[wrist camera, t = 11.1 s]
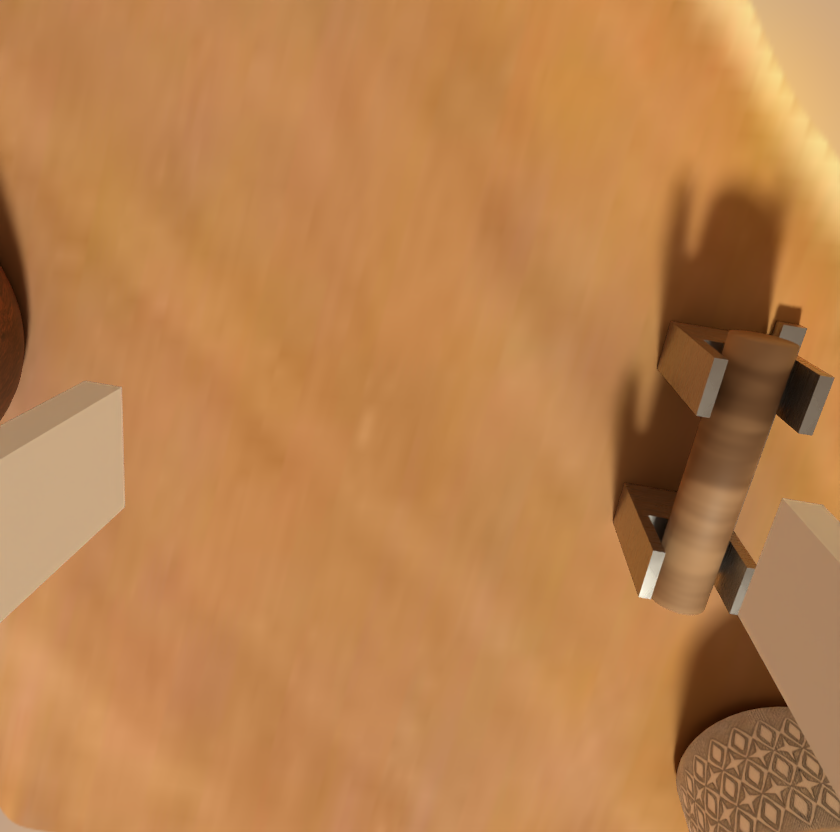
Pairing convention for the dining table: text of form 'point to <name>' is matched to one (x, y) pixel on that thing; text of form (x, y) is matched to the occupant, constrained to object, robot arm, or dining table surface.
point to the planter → (755, 778)
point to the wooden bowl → (9, 343)
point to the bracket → (698, 387)
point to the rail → (721, 468)
